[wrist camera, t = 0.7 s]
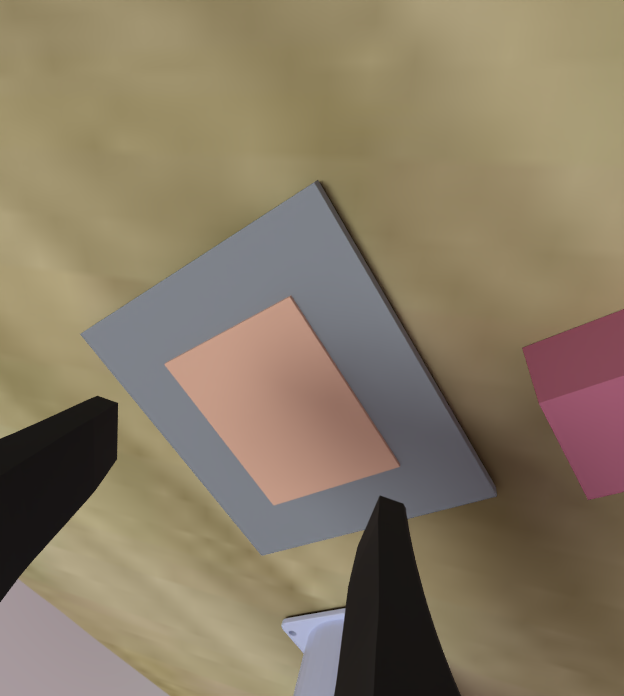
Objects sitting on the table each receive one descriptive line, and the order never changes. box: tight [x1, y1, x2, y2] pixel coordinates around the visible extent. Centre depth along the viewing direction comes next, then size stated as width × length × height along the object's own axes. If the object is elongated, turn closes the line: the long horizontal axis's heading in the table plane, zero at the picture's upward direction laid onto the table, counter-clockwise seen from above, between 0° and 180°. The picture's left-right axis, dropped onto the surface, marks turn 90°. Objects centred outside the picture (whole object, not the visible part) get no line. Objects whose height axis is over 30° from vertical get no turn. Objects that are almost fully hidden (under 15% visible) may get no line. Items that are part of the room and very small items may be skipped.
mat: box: [80, 180, 497, 555], centre depth 23 cm, size 16×14×1 cm
